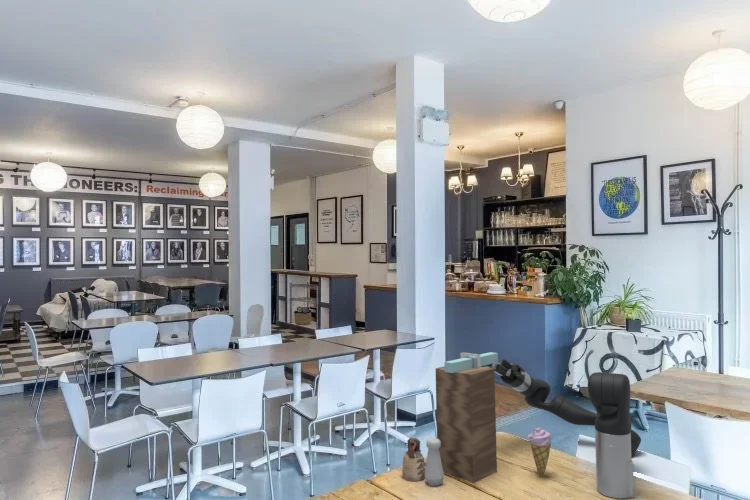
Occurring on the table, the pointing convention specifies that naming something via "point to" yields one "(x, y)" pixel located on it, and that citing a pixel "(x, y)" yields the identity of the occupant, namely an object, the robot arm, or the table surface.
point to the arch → (475, 358)
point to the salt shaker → (434, 463)
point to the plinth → (467, 422)
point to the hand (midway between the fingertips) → (491, 360)
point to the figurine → (413, 462)
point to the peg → (470, 362)
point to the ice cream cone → (540, 449)
